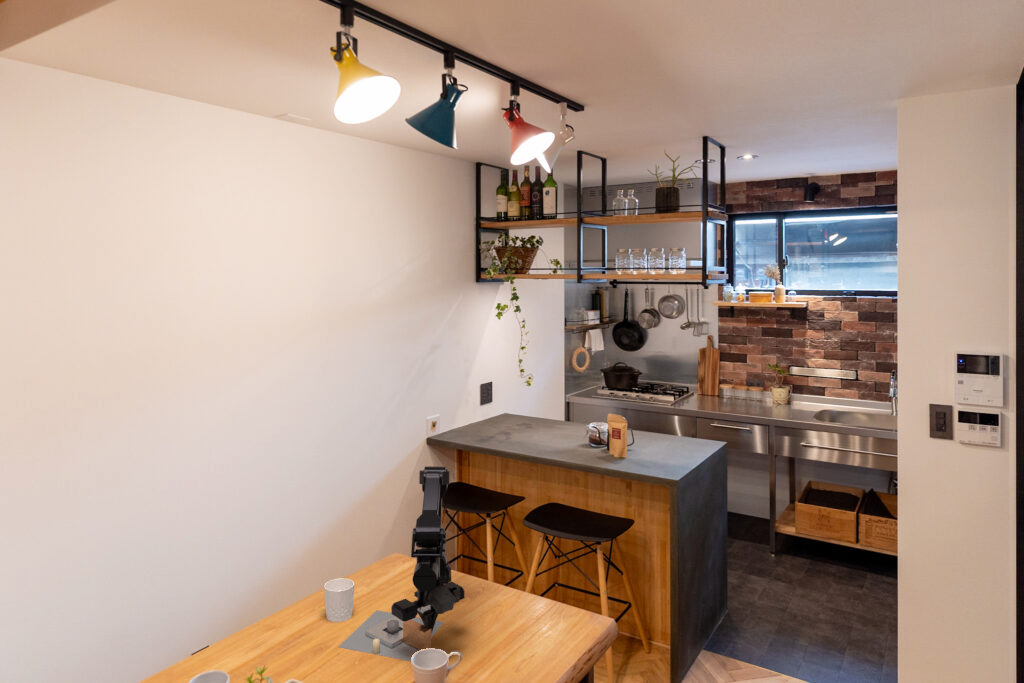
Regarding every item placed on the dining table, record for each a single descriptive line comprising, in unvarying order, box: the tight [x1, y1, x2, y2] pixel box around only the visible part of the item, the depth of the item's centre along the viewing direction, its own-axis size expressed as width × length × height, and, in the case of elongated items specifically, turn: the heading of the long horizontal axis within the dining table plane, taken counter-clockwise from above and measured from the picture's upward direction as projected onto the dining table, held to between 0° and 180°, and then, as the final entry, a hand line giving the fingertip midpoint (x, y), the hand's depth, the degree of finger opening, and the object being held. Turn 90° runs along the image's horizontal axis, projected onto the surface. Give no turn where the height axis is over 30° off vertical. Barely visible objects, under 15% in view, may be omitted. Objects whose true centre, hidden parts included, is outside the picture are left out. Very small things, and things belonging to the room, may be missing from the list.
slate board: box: [338, 609, 445, 662], centre depth 176 cm, size 20×20×4 cm
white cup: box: [323, 577, 355, 623], centre depth 184 cm, size 8×8×10 cm
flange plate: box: [365, 616, 432, 650], centre depth 173 cm, size 18×10×5 cm, turn 52°
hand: (429, 633), depth 172 cm, fingers closed
